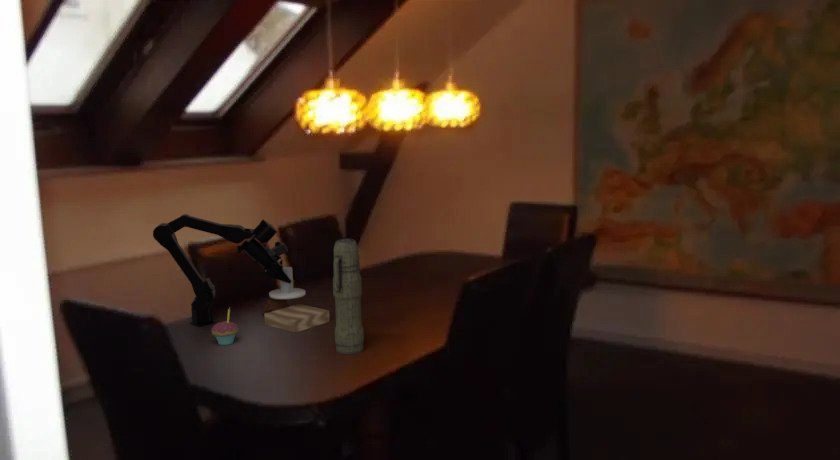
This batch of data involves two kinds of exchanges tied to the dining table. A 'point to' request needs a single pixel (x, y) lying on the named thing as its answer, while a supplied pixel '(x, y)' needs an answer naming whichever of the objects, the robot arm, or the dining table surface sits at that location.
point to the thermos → (347, 297)
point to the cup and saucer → (275, 305)
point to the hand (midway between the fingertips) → (290, 281)
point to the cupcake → (225, 331)
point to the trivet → (296, 318)
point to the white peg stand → (287, 288)
